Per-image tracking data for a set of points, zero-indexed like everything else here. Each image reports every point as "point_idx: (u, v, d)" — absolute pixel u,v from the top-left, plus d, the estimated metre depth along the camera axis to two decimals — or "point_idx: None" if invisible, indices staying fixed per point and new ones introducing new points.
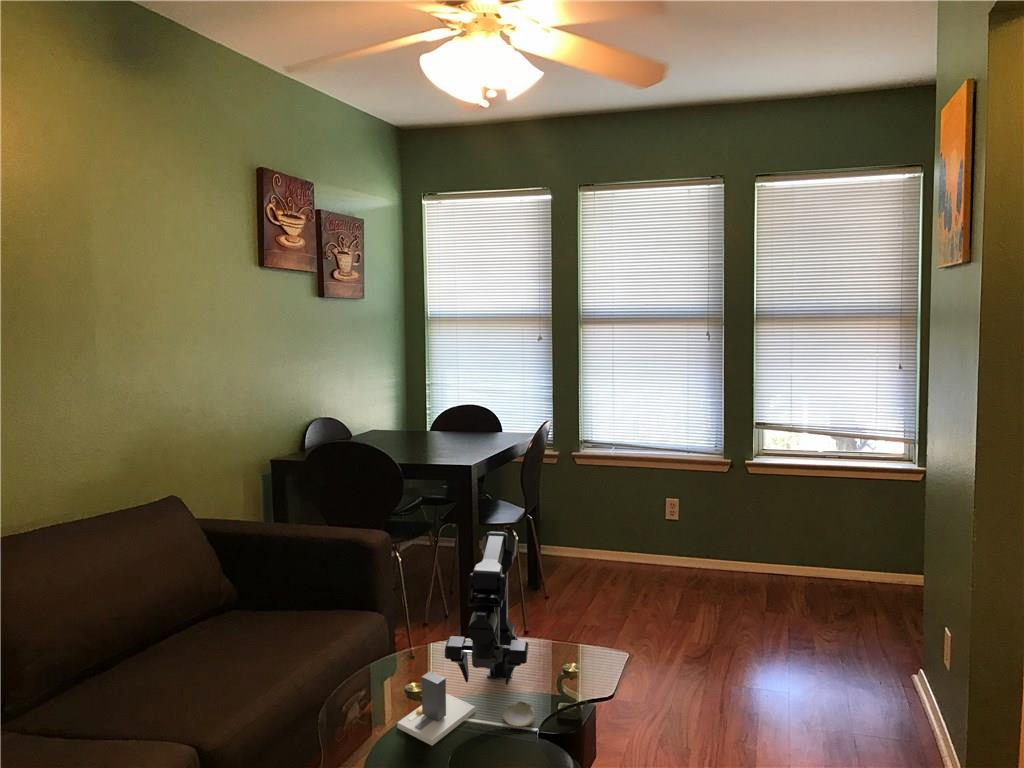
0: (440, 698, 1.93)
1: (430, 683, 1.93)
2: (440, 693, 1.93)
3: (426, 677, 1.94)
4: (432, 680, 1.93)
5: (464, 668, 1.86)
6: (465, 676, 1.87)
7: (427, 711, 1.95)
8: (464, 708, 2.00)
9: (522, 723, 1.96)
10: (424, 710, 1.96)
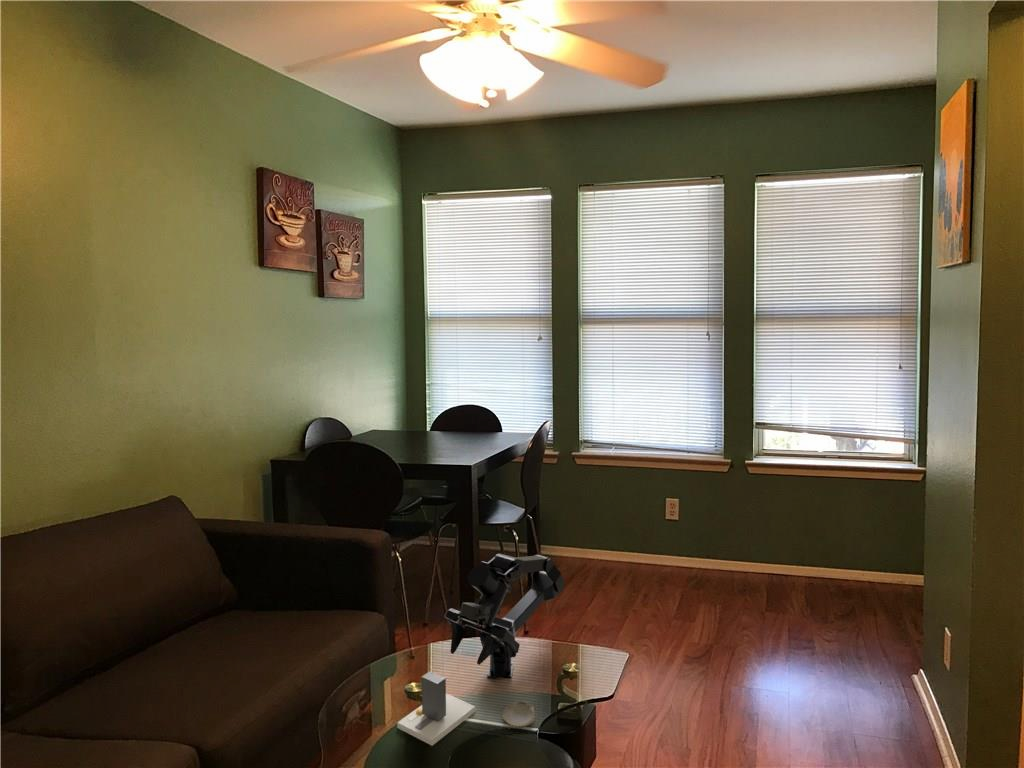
0: (440, 698, 1.93)
1: (430, 683, 1.93)
2: (440, 693, 1.93)
3: (426, 677, 1.94)
4: (432, 680, 1.93)
5: (455, 635, 2.07)
6: (452, 645, 2.06)
7: (427, 711, 1.95)
8: (464, 708, 2.00)
9: (522, 723, 1.96)
10: (424, 710, 1.96)
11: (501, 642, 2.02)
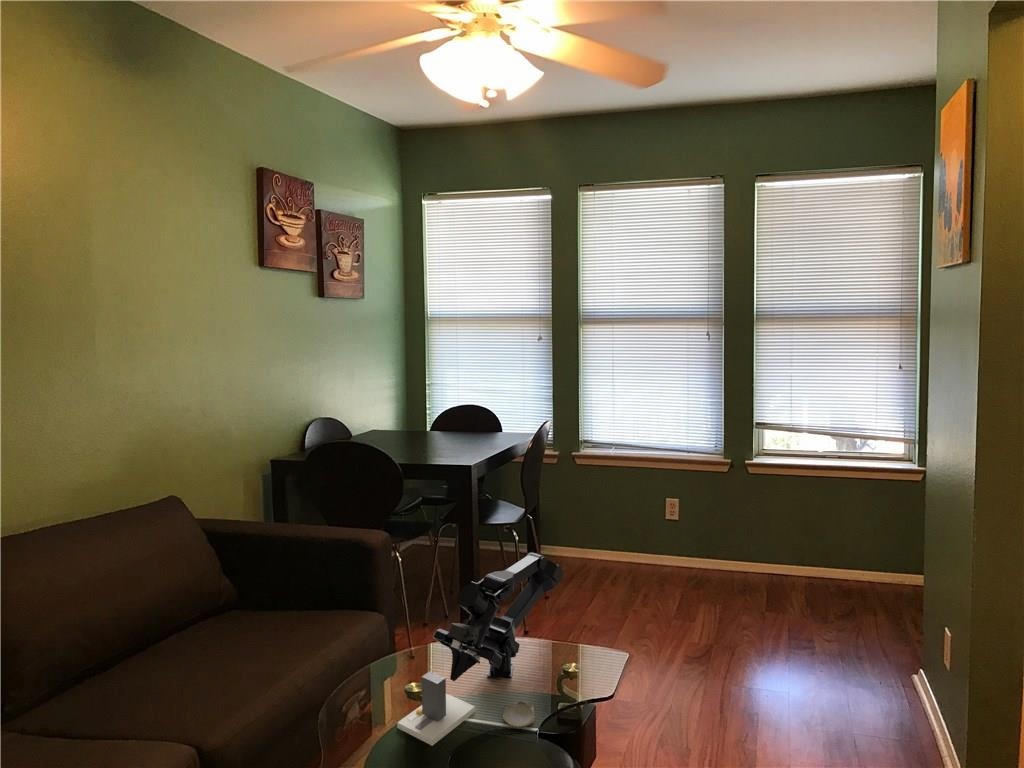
0: (440, 698, 1.93)
1: (430, 683, 1.93)
2: (440, 693, 1.93)
3: (426, 677, 1.94)
4: (432, 680, 1.93)
5: (455, 662, 2.02)
6: (452, 671, 2.01)
7: (427, 711, 1.95)
8: (464, 708, 2.00)
9: (522, 723, 1.96)
10: (424, 710, 1.96)
11: (476, 659, 2.02)
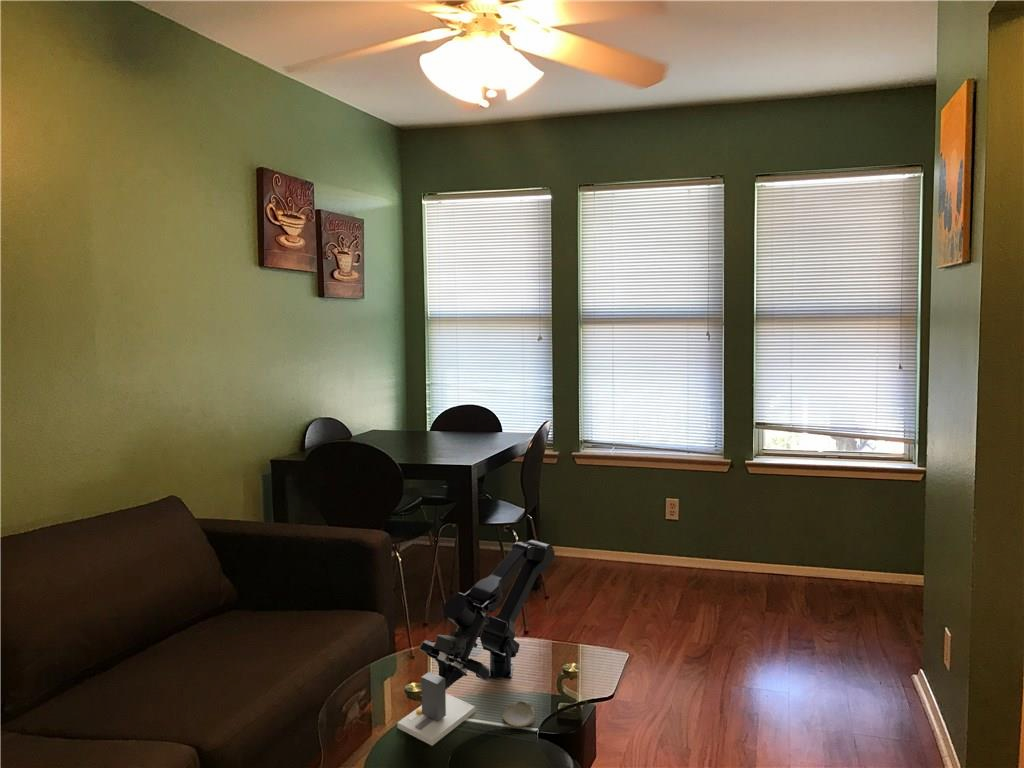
0: (439, 699, 1.93)
1: (430, 683, 1.93)
2: (440, 694, 1.93)
3: (425, 677, 1.94)
4: (432, 680, 1.93)
5: (441, 674, 1.98)
6: None
7: (427, 711, 1.95)
8: (464, 708, 2.00)
9: (522, 723, 1.96)
10: (424, 710, 1.96)
11: (463, 671, 1.98)
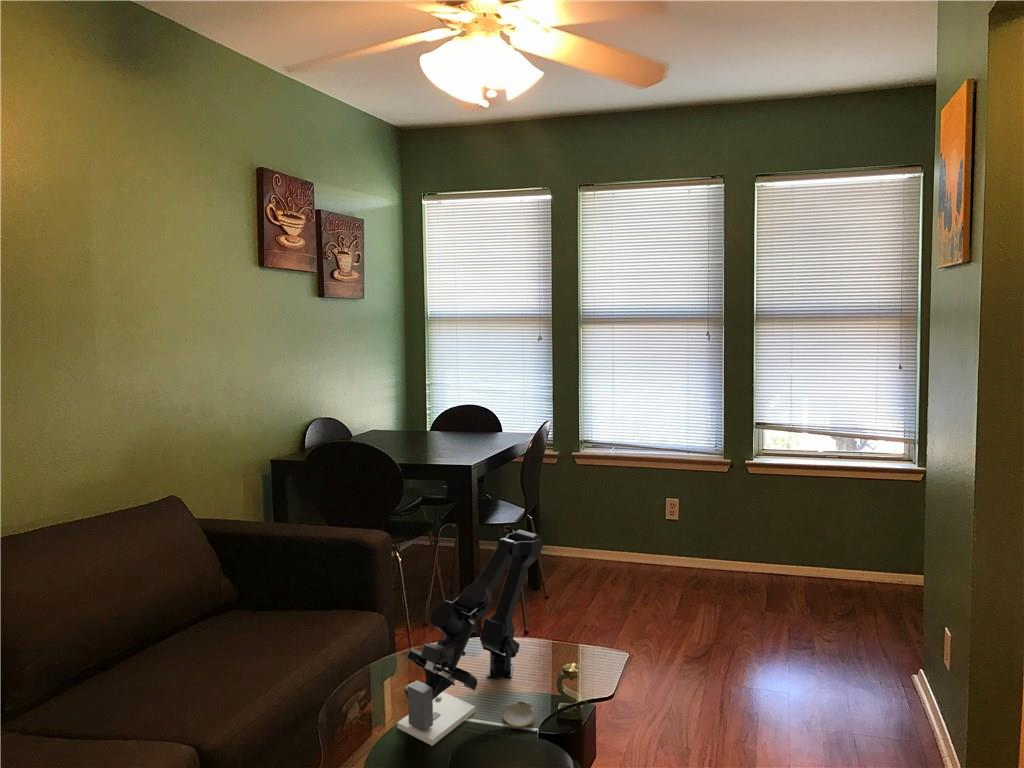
0: (426, 708, 1.90)
1: (416, 692, 1.89)
2: (427, 703, 1.89)
3: (412, 686, 1.90)
4: (419, 689, 1.89)
5: (429, 684, 1.94)
6: None
7: (413, 721, 1.92)
8: (464, 708, 2.00)
9: (522, 723, 1.96)
10: (411, 720, 1.92)
11: (451, 681, 1.94)
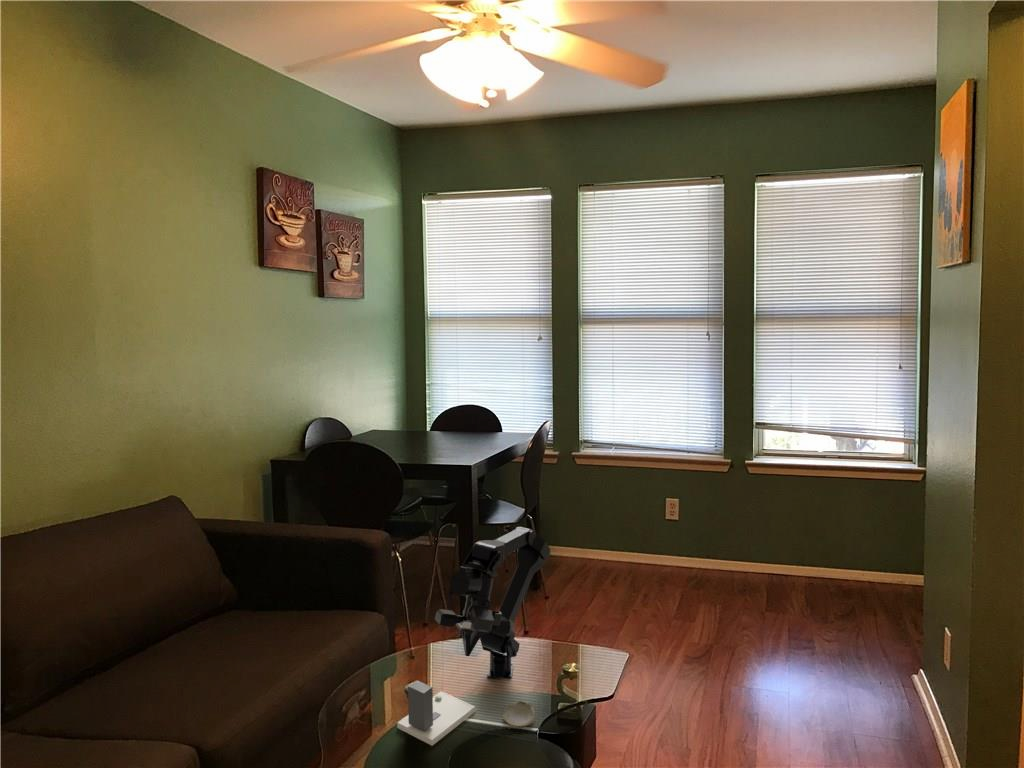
0: (426, 708, 1.90)
1: (416, 692, 1.89)
2: (427, 703, 1.89)
3: (412, 686, 1.90)
4: (419, 689, 1.89)
5: (469, 640, 2.02)
6: (467, 649, 2.02)
7: (413, 721, 1.92)
8: (464, 708, 2.00)
9: (522, 723, 1.96)
10: (411, 720, 1.92)
11: None
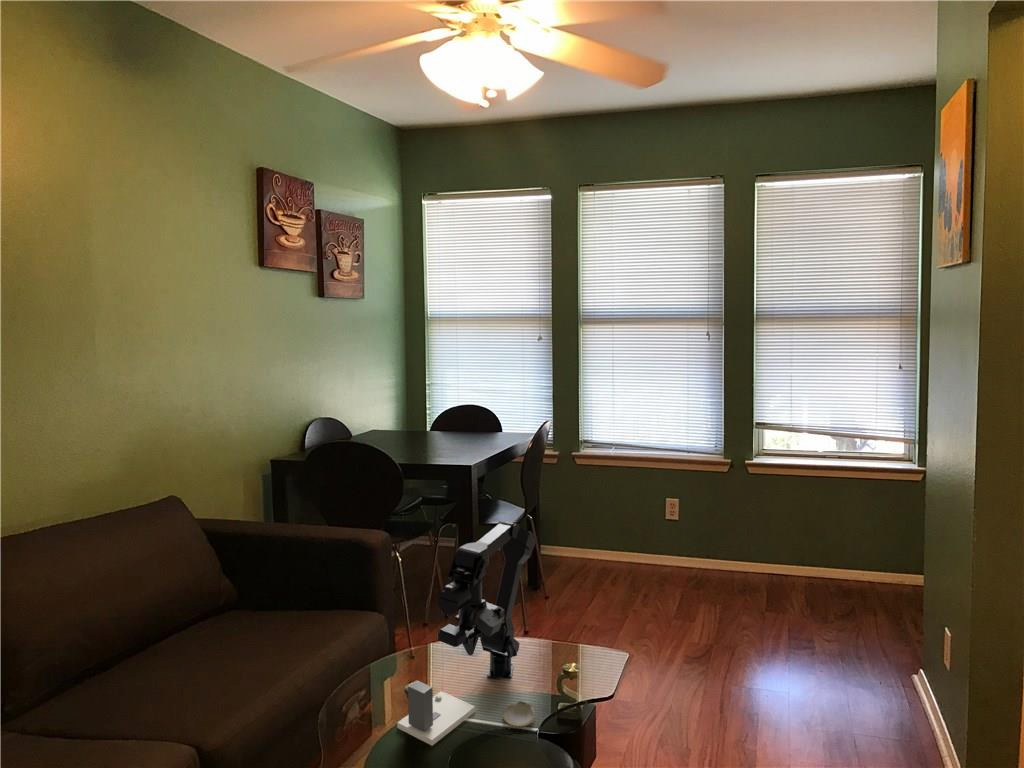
0: (426, 708, 1.90)
1: (416, 692, 1.89)
2: (427, 703, 1.89)
3: (412, 686, 1.90)
4: (419, 689, 1.89)
5: (472, 642, 2.00)
6: (472, 649, 2.01)
7: (413, 721, 1.92)
8: (464, 708, 2.00)
9: (522, 723, 1.96)
10: (411, 720, 1.92)
11: None
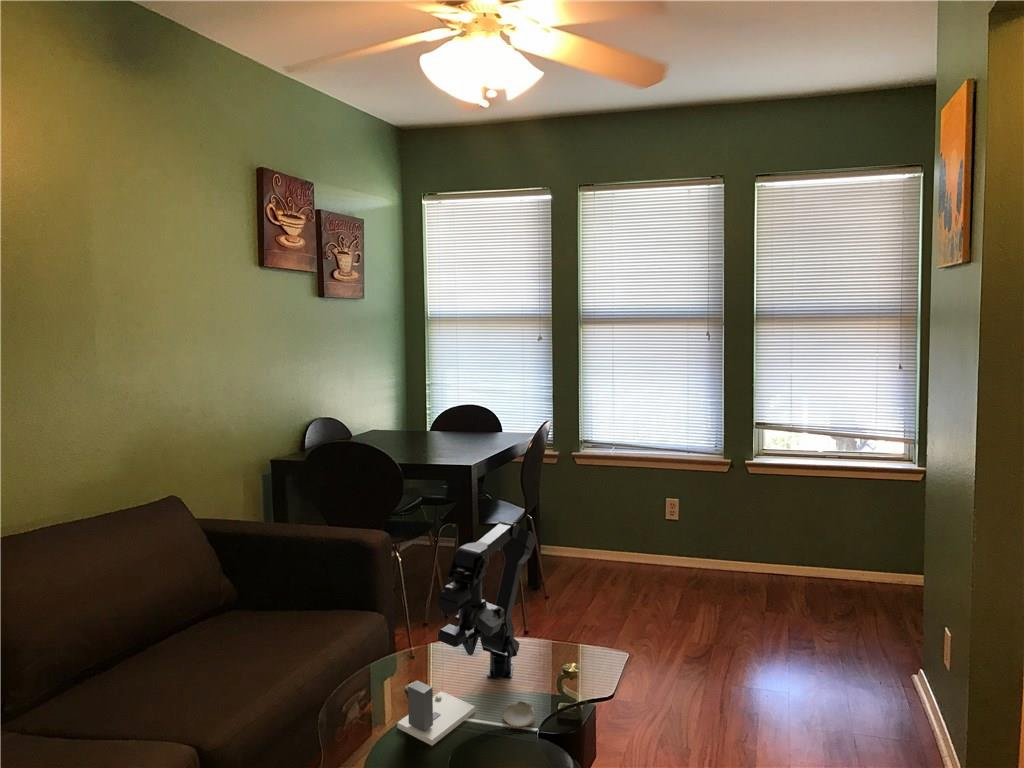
0: (426, 708, 1.90)
1: (416, 692, 1.89)
2: (427, 703, 1.89)
3: (412, 686, 1.90)
4: (419, 689, 1.89)
5: (472, 642, 2.00)
6: (472, 649, 2.01)
7: (413, 721, 1.92)
8: (464, 708, 2.00)
9: (522, 723, 1.96)
10: (411, 720, 1.92)
11: None
